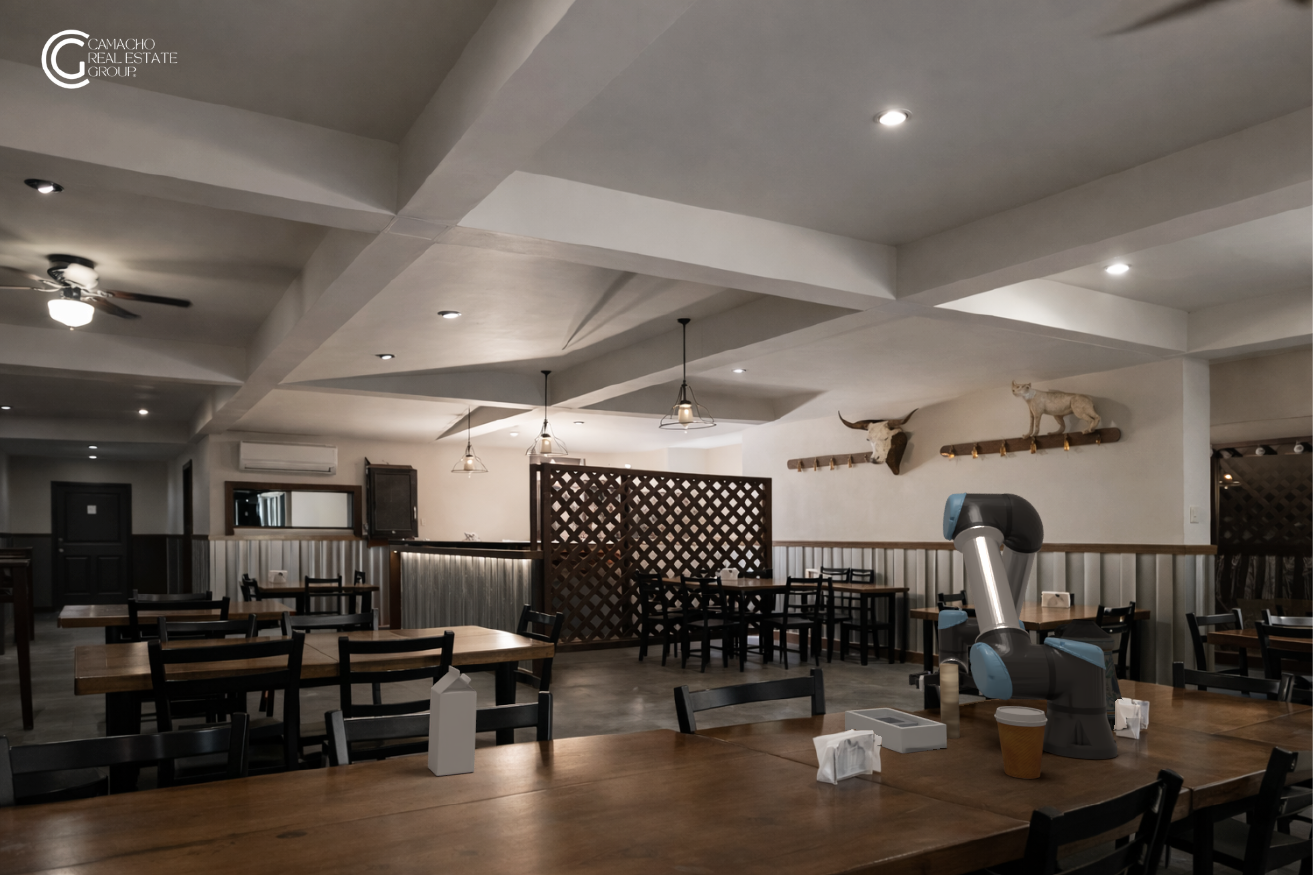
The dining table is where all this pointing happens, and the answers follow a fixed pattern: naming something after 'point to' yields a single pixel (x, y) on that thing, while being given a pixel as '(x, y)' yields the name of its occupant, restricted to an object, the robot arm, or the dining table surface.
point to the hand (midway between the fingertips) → (950, 687)
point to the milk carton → (452, 725)
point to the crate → (899, 729)
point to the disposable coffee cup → (1021, 740)
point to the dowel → (950, 699)
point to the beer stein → (1096, 636)
